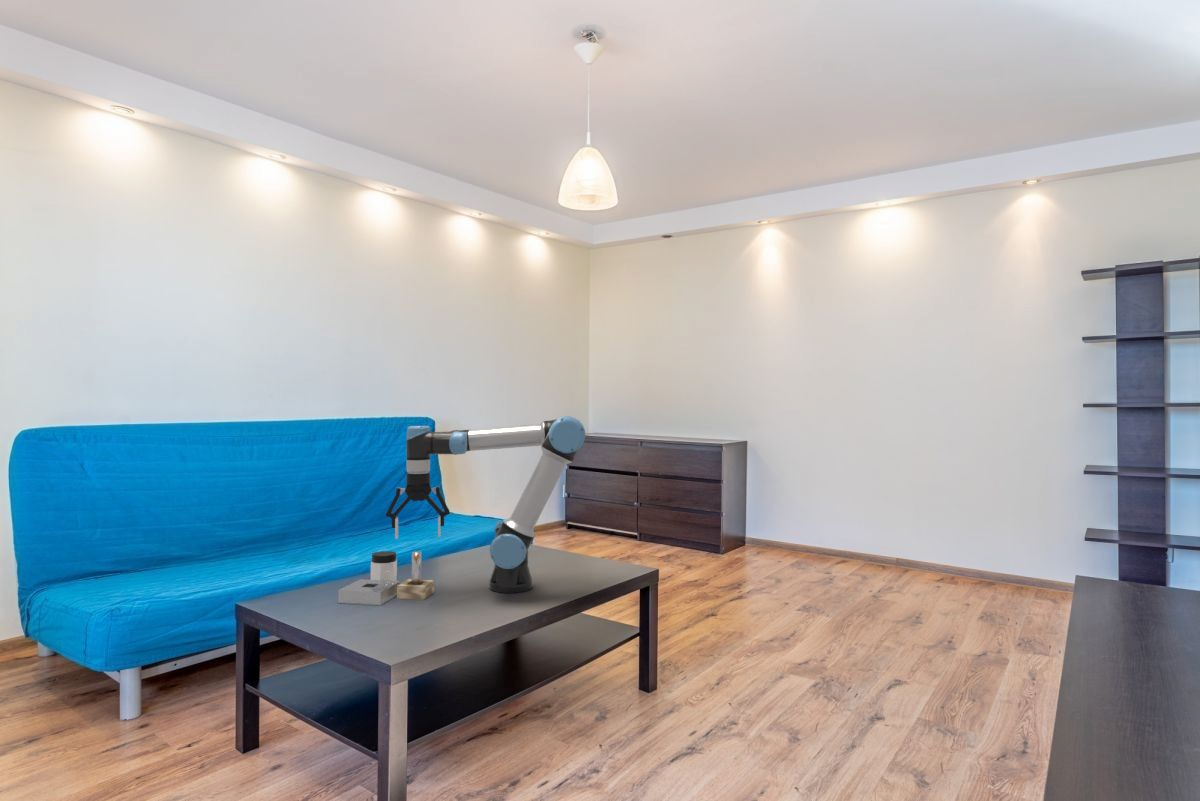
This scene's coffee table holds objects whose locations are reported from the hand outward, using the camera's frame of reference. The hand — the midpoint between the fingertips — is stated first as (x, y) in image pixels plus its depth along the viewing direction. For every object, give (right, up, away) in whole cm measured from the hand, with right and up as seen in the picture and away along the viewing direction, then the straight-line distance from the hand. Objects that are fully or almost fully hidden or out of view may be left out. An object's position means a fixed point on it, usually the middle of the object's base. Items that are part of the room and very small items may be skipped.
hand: (418, 537), depth 222 cm
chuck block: (-14, -20, -5) cm, 25 cm away
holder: (-1, -20, 0) cm, 20 cm away
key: (-1, -19, 0) cm, 19 cm away
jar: (-15, -20, +12) cm, 28 cm away
